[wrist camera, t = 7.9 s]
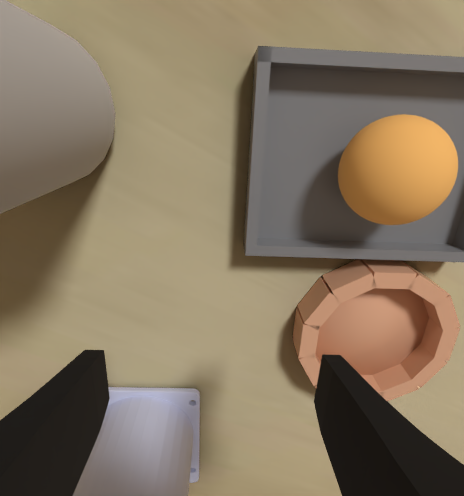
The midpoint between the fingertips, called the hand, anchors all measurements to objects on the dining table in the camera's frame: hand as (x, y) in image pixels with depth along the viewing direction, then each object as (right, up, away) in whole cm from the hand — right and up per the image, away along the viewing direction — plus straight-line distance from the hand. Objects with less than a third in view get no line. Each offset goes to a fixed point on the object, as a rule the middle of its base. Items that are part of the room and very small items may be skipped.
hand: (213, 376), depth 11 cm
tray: (+8, +9, +7) cm, 14 cm away
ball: (+8, +8, +5) cm, 12 cm away
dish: (+10, -1, +11) cm, 15 cm away
